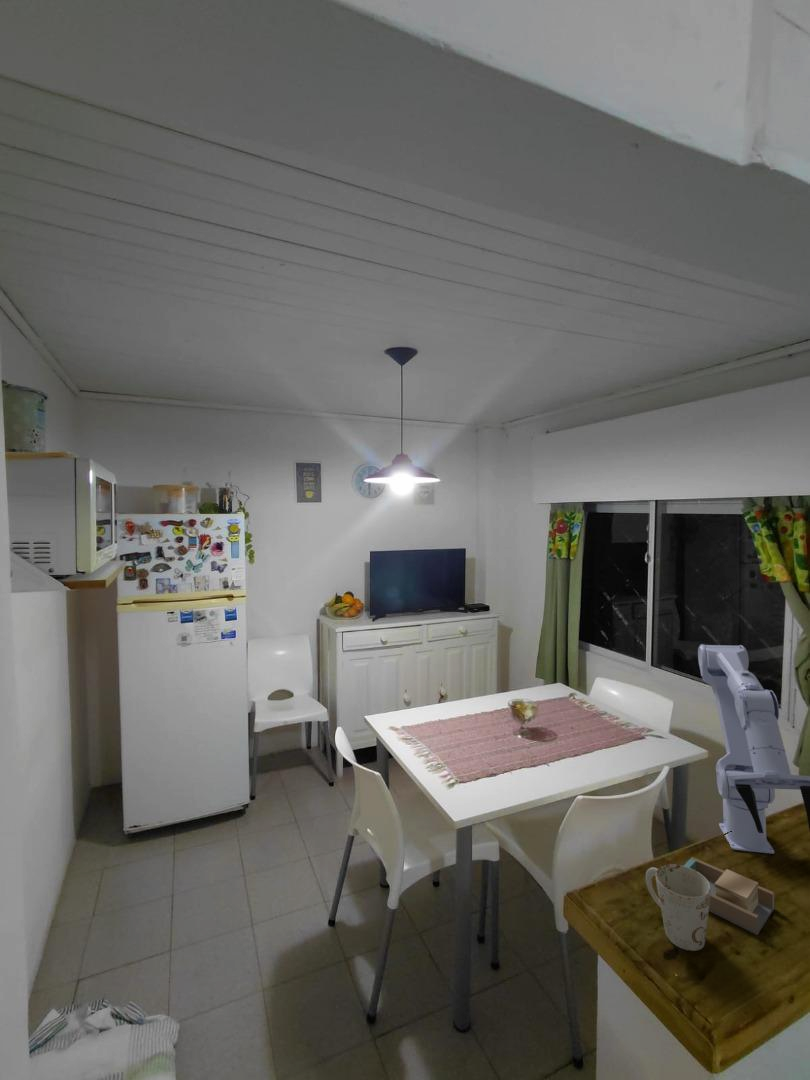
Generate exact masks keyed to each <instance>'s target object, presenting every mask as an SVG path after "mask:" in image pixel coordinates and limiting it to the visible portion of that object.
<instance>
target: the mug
mask: <svg viewBox="0 0 810 1080" xmlns="http://www.w3.org/2000/svg"><path fill="white" fill-rule="evenodd" d="M654 877H655V881H656V882H655V883H656V887H657V893H656V891H655V889H654V887H653V882H652V880H653V878H654ZM645 884H646V887H647V890H648V892H649V893H650V895H651V898H653V900H654V902H655V904H656V905H657V906H658V907H660V910H661V911H660V912H661V916H662V923H663V927H664V932H665V935H666V938H667V939H668V941H670V942H671V943H672V944H673V945H674V946H676V947H678V948H680V949H683V950H685V951H689V950H690V951H691V952H694V951H695V952H697V951H699V950H702V949H703V948H704V947H705V944H706V938H707V937H706V936H707V928H708V919H709V912H710V911H709V903H710V894H711V887H710V884H709V882H708V880H707V879H706V878H705V877H704V876H703V875H702V874H700V873H699V872H697V871H695V870H693V869H691V868H689V867H686V866H684V865H680V864H673V863H672V864H671V863H670V864H664V865H661V866H660V867H658V868H657V867H650V868H648V869H647V870H646V872H645ZM657 894H658V895H657Z"/></svg>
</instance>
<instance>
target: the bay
mask: <svg viewBox="0 0 810 1080" xmlns="http://www.w3.org/2000/svg"><path fill="white" fill-rule="evenodd" d="M683 866H686V867H689V868H691V869H693V870H695V871H697V872H699V873H700V874H702V875H703V876H704V877H705V878H706V879H707V880H708V882H709V884H710V887H711V894H710V903H709V912H710V913H713V914H714V915H717V916H718V917H720V918H722V919H723V920H726V921H728V922H730V923H732V924H734V925H737V926H739V927H741V928H743V929H744V930H747V931H748V932H749V933H752V934H754V935H757V936H758V935H759V933H760V931H761V930H762V929H763V927H764V926H765V924H766V922H768V919H769V918H770V916H771V914H772V913H773V911H774V910H775V893H774V891H772V890H770V889H767V888H765V887H762V886H760V885H758V905H757V907H756V908H755V910H754V911H753V913H752V912H750V911H748V910H746V909H744V908H741V907H739V906H737V905H735V904H733V903H731V902H729V901H727V900H725V899H722V898H720V897H718V896H716V887H715V882H716V881H717V880H718V879H719V878H720V876H721V875H722V874H723V873H724V872H725V870H724V869H721V868H719V867H716V866H714V865H713V864H709V863H707V862H705V861H703V860H700V859H698V858H696V857H694V856H692V857H690V859H688V860H687V861H686V862H685V864H683Z"/></svg>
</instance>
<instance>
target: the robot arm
mask: <svg viewBox="0 0 810 1080" xmlns="http://www.w3.org/2000/svg"><path fill="white" fill-rule="evenodd" d="M697 659H698V665H699V670H700V675H701V677H702V681H703V682H705V683H706V684H708V685H709V686H710V687H711V689H712V692H713V694H714V699H715V703H716V708H717V713H718V718H719V722H720V726H721V727H720V728H721V732H722V737H723V738H722V739H723V741H724V746H725V751H726V754H725V755H723V756H722V757H721V758H720V759H718V760H717V762H716V764H715V772H716V786H717V790H718V794H719V795H720V796H721V798H722V813H723V822H719V823H718V826H719V828H720V830H721V831H722V834H723V835H724V834H725V833H727V832H729V833H728V834H726V835H724V837H725V839H726V841H727V843H728V842H729V843H728V844H730V845H729V846H730V848H731V849H732V850H736V851H741V852H742V851H743V852H753V853H754V852H755V853H762V854H775V850H774V849H773V847H772V845H771V843H770V842H769V841H768V839H767V820H766V817H767V815H766V809H769V804H772V803H774V800H775V797H776V793H775V790H800V793H801V797H802V800H803V805H804V809H805V813H806V816H807V817H806V818H807V822H808V828H809V830H810V776H809V775H800V774H792V773H791V772H792V771H791V769H790V765H789V761H788V757H787V753H786V749H785V745H784V742H783V738H782V737H783V736H782V734H781V730H780V727H779V718H780V707H779V701H778V699H777V695H776V694H775V692H774V691H773V690H772V689H770V690H769V689H764V687H763V685H762V684H761V683H760V681H759V680H758V678H757V676H756V675H755V674H754V673H753V672H751V671H749V665H750V664H749V661H750V660H749V654H748V650H747V648H746V647H744V645H741V644H739V645H724V644H723V645H720V644H718V645H717V644H713V645H712V644H704V643H703V644H699V646H698V649H697ZM730 831H732V832H730Z"/></svg>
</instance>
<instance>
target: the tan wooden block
mask: <svg viewBox="0 0 810 1080" xmlns="http://www.w3.org/2000/svg"><path fill="white" fill-rule="evenodd" d="M724 871H725V872H724V873H723V874H722V875H721V876H720V878H719V879H718V880H717V881H716V882H715V887H716V896H718V897H720V898H722V899H725V900H727V901H729V902H731V903H733V904H735V905H737V906H739V907H741V908H744V909H746V910H748V911H750V912H752V913H753V911H754V910H755V908H756V907H757V905H758V886H759V882H758V881H756V880H753V879H751V878H748V877H746V876H743V875H742V874H739V873H737V872H735V871H732V870H730V869H728V868H726V869H725V870H724Z"/></svg>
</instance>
